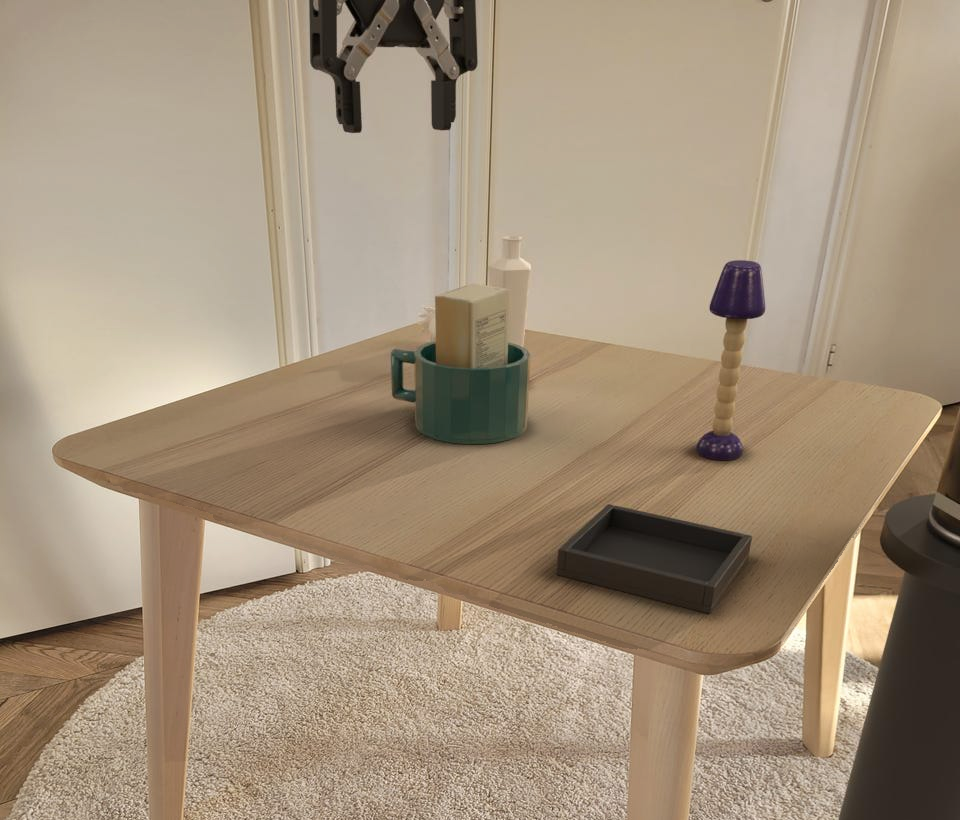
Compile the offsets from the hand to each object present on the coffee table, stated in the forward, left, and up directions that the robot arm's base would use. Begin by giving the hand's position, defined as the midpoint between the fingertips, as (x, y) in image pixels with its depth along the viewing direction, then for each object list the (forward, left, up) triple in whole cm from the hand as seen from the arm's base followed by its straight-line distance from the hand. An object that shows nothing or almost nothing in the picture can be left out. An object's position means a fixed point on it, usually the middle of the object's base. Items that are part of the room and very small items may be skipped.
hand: (398, 131), depth 84 cm
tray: (-32, +17, -25) cm, 44 cm away
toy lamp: (-29, -8, -26) cm, 39 cm away
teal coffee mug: (-4, -3, -25) cm, 26 cm away
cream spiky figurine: (+9, -23, -26) cm, 35 cm away
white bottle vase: (-3, -17, -26) cm, 31 cm away
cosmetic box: (-6, -3, -25) cm, 26 cm away
